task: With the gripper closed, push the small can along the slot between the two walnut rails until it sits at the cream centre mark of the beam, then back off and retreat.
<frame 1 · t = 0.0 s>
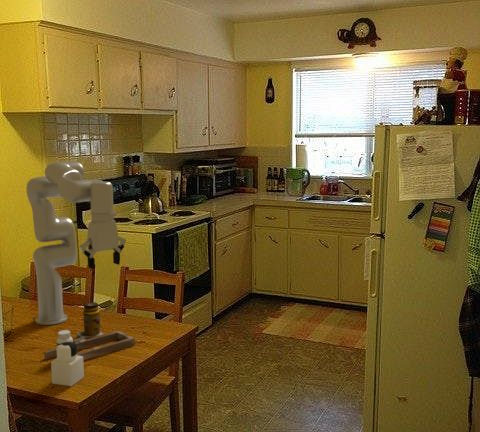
hand: (104, 266, 191), 31 cm above the table, fingers open, 9 cm apart
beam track: (89, 351, 196), on the table
supplement bottle: (65, 359, 190), on the table
condiment: (90, 334, 213), on the table
white stacked blocks: (68, 381, 173), on the table
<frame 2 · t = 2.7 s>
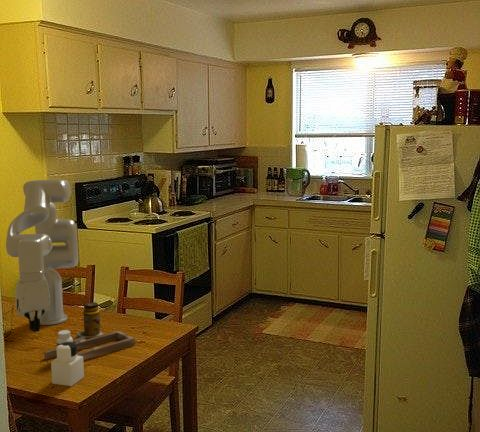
hand: (34, 330, 180), 13 cm above the table, fingers closed
nothing on the table moved.
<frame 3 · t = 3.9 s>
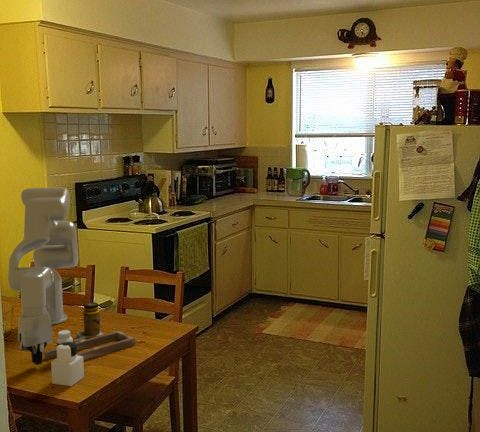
hand: (37, 363, 182), 2 cm above the table, fingers closed
nothing on the table moved.
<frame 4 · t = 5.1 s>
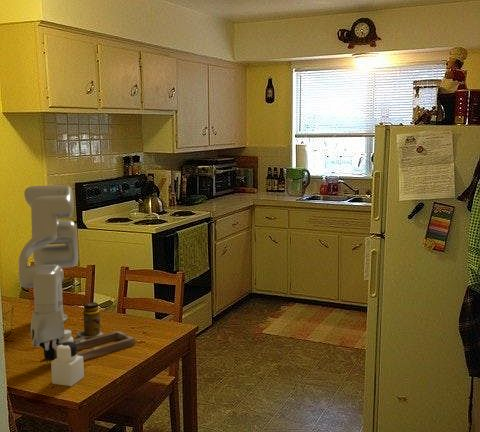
hand: (49, 359, 185), 2 cm above the table, fingers closed
supplement bottle: (65, 359, 190), on the table, touching gripper
everything else where it was.
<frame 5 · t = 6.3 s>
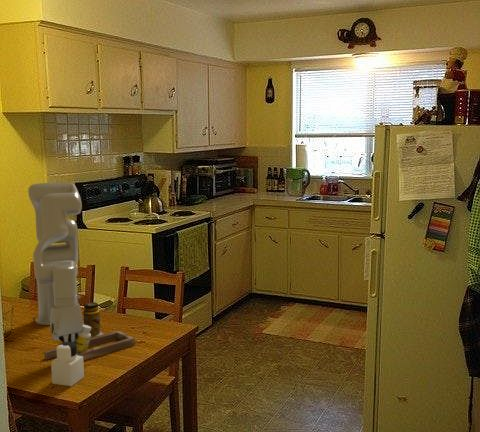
hand: (68, 352, 189), 2 cm above the table, fingers closed
supplement bottle: (77, 353, 192), point 1 cm above the table, touching gripper
everything else where it was.
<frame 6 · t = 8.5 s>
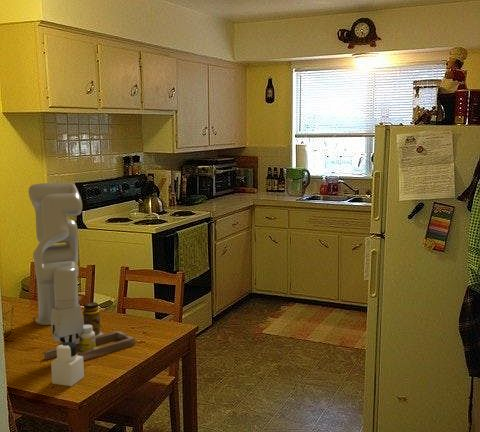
hand: (69, 353, 190), 2 cm above the table, fingers closed
supplement bottle: (88, 353, 195), on the table
everything else where it was.
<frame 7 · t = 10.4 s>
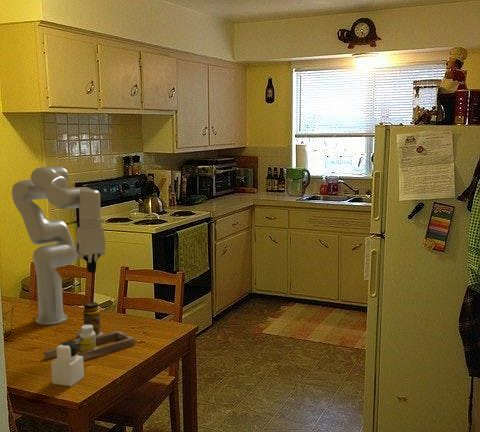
hand: (91, 272, 204), 26 cm above the table, fingers closed
nothing on the table moved.
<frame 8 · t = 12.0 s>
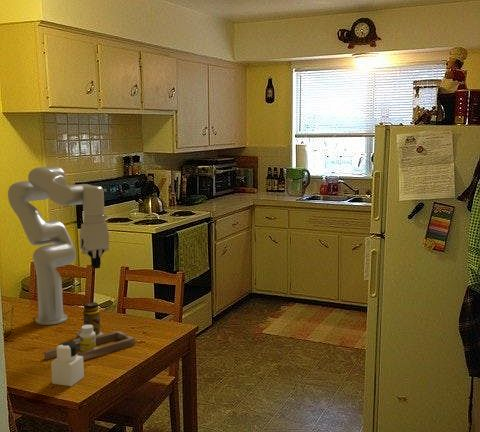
hand: (96, 267, 206), 27 cm above the table, fingers closed
nothing on the table moved.
at the end: supplement bottle 0.8 cm from the target spot, on the table; supplement bottle tilted 1°; supplement bottle touching table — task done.
